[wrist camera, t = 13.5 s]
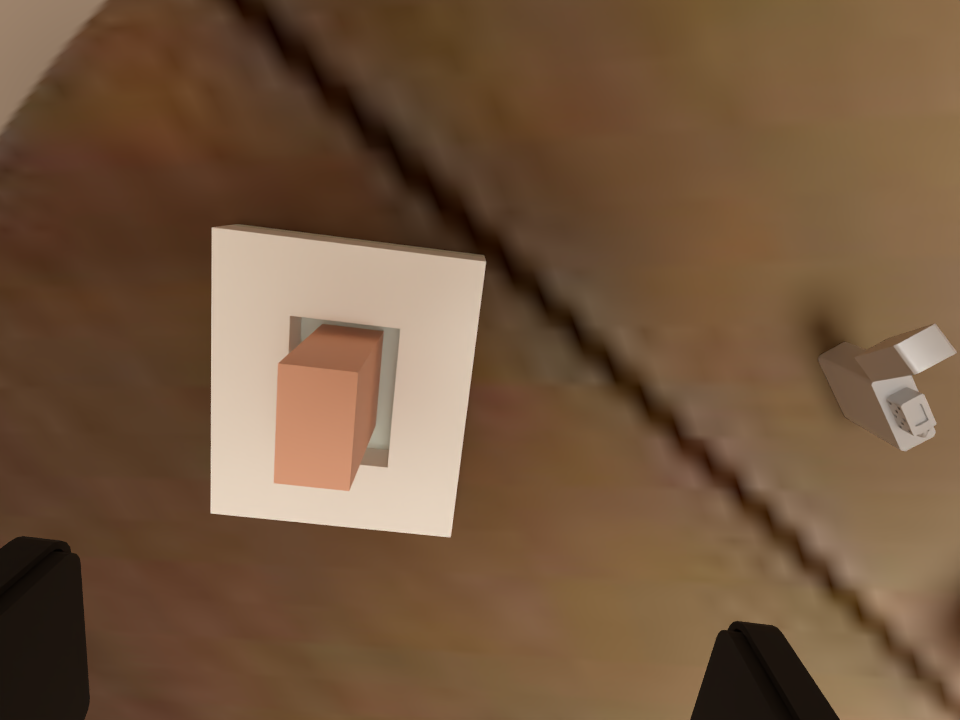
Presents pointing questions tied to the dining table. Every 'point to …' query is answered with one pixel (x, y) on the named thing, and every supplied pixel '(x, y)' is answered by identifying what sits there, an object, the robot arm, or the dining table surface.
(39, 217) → the dining table surface
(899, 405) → the white plastic device
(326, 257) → the holder
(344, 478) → the block
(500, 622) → the dining table surface
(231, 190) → the dining table surface
